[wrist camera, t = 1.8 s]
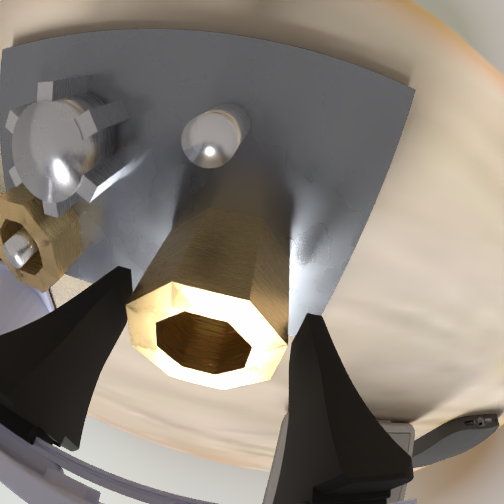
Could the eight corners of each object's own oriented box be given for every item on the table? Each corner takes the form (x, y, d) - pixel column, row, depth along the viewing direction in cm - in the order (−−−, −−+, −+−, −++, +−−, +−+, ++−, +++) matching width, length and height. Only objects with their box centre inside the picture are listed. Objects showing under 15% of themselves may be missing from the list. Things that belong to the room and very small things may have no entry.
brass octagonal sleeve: (268, 315, 16) (260, 397, 12) (168, 291, 16) (135, 365, 12) (300, 228, 13) (303, 312, 9) (173, 198, 12) (121, 267, 8)
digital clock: (419, 420, 25) (430, 502, 16) (363, 446, 30) (365, 519, 21) (313, 391, 22) (310, 516, 13) (255, 423, 26) (242, 518, 18)
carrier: (308, 328, 17) (309, 384, 14) (27, 251, 17) (-5, 285, 13) (408, 88, 9) (456, 99, 6) (12, 48, 9) (-41, 58, 5)
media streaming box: (382, 455, 33) (384, 472, 31) (452, 413, 25) (457, 434, 23) (442, 450, 35) (444, 464, 32) (504, 410, 26) (508, 426, 24)
